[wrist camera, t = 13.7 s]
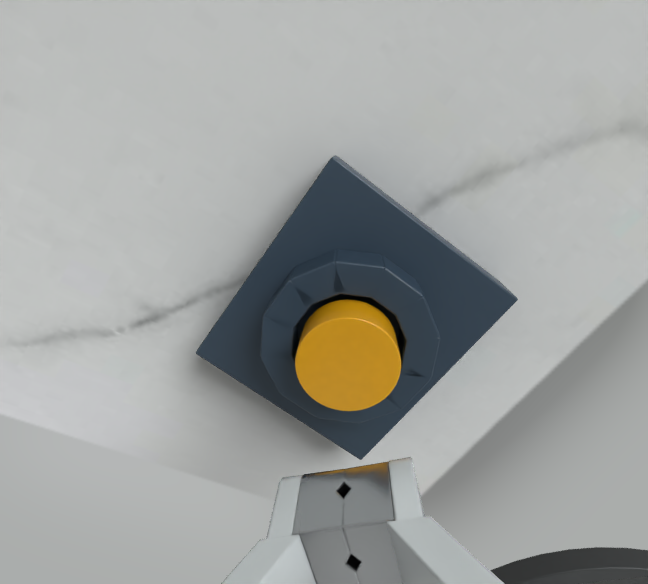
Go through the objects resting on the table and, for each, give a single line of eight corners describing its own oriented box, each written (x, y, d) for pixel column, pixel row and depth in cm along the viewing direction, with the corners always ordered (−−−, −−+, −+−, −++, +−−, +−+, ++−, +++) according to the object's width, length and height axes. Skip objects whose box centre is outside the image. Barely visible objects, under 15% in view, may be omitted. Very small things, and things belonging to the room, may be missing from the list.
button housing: (360, 430, 21) (361, 491, 18) (211, 332, 20) (178, 375, 16) (500, 281, 18) (538, 317, 15) (334, 154, 17) (330, 157, 13)
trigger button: (357, 401, 17) (357, 428, 15) (282, 350, 16) (274, 374, 14) (416, 335, 16) (423, 358, 14) (338, 279, 15) (336, 297, 13)
